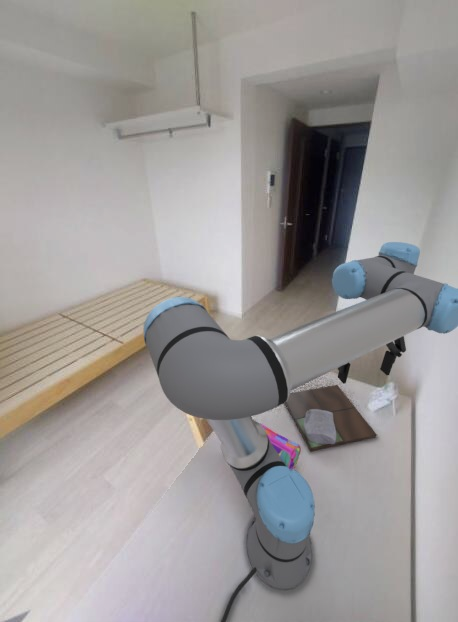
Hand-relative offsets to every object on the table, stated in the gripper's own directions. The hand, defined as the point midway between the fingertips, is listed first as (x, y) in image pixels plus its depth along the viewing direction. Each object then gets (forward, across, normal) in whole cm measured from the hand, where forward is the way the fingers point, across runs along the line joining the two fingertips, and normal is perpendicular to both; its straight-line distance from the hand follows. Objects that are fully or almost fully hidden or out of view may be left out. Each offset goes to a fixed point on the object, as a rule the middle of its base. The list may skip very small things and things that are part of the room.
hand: (363, 376), depth 75 cm
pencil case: (+30, -26, +4) cm, 40 cm away
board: (+30, 0, +12) cm, 32 cm away
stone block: (+28, -6, +7) cm, 30 cm away
